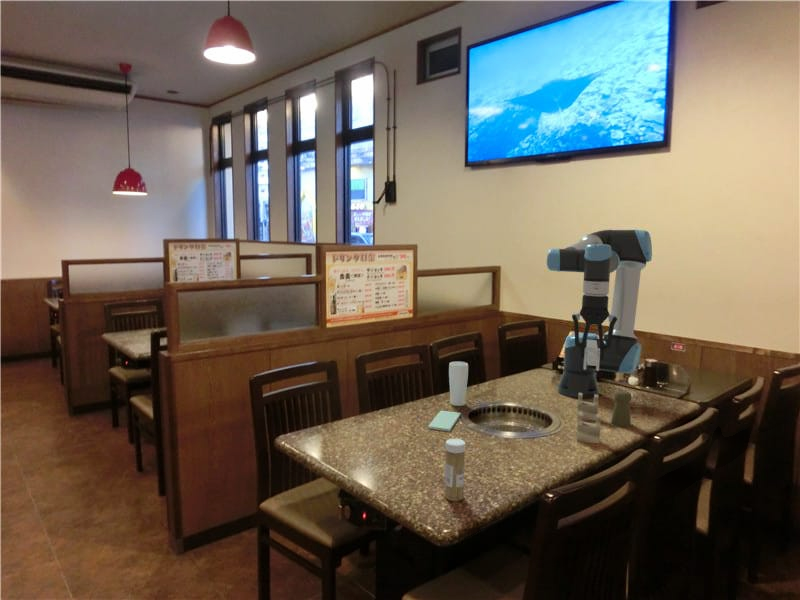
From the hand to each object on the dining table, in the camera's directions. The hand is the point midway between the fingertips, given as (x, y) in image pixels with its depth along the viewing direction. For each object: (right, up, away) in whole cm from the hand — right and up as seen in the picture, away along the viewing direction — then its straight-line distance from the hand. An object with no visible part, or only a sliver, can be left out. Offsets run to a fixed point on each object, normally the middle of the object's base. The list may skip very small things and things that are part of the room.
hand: (591, 368), depth 166 cm
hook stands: (0, -19, +2) cm, 19 cm away
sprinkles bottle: (-47, -24, -43) cm, 68 cm away
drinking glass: (-39, -16, +25) cm, 49 cm away
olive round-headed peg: (+12, -19, +7) cm, 24 cm away
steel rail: (0, +4, 0) cm, 4 cm away
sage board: (-45, -18, +7) cm, 49 cm away
